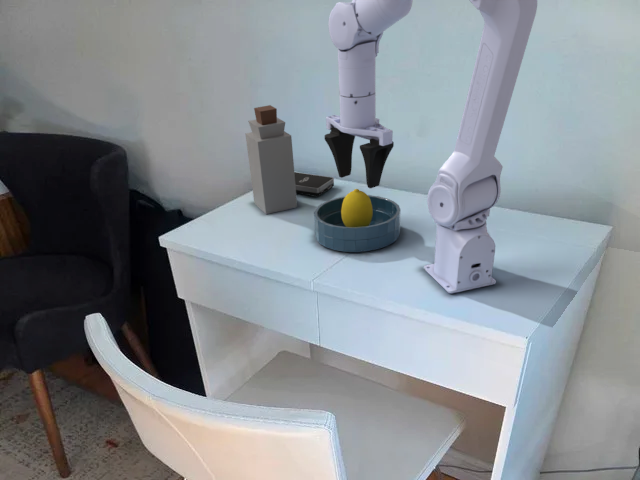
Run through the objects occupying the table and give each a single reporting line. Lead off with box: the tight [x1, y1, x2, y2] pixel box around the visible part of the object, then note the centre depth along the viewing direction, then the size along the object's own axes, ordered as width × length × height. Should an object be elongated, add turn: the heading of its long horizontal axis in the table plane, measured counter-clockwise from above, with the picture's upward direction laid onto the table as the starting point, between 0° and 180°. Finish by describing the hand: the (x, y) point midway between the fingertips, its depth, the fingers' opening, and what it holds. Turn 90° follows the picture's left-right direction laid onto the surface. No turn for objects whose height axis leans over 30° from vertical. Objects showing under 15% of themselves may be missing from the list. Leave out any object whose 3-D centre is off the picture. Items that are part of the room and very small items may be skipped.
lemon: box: [341, 188, 373, 227], centre depth 107 cm, size 6×6×8 cm
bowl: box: [313, 194, 402, 253], centre depth 109 cm, size 15×15×4 cm
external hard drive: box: [294, 171, 335, 197], centre depth 129 cm, size 7×11×2 cm, turn 59°
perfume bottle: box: [245, 104, 298, 215], centre depth 118 cm, size 7×7×18 cm
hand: (358, 181), depth 105 cm, fingers open, 7 cm apart
